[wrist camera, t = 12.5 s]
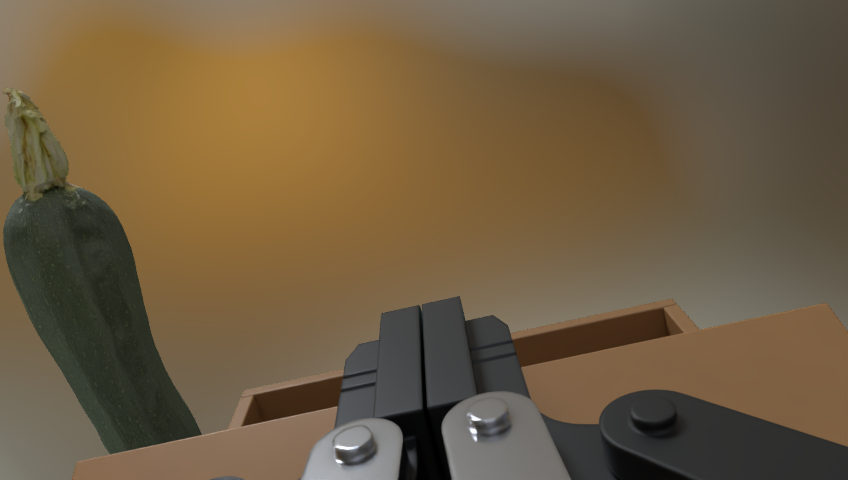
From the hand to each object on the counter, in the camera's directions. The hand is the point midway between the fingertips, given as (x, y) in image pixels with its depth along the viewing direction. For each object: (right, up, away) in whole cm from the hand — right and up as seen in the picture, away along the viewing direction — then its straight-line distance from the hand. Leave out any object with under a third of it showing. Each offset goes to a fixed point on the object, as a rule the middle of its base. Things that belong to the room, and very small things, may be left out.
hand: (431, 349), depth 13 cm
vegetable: (-11, -11, +18) cm, 24 cm away
